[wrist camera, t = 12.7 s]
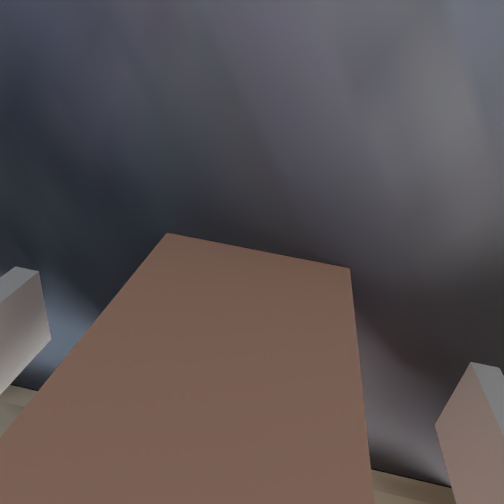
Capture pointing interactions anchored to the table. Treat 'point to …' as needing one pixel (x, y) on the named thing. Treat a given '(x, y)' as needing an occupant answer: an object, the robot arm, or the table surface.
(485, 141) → the table surface
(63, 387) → the block
